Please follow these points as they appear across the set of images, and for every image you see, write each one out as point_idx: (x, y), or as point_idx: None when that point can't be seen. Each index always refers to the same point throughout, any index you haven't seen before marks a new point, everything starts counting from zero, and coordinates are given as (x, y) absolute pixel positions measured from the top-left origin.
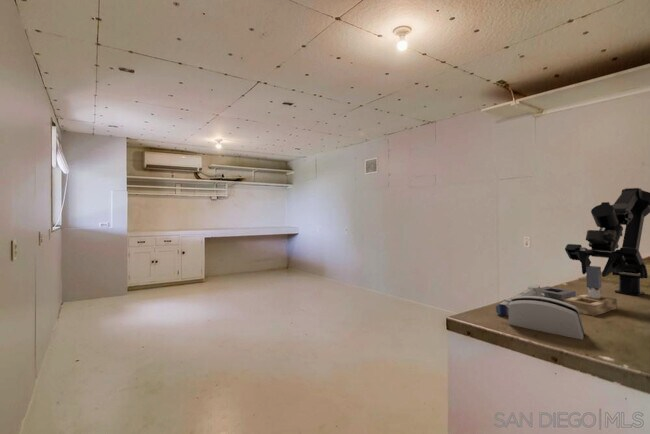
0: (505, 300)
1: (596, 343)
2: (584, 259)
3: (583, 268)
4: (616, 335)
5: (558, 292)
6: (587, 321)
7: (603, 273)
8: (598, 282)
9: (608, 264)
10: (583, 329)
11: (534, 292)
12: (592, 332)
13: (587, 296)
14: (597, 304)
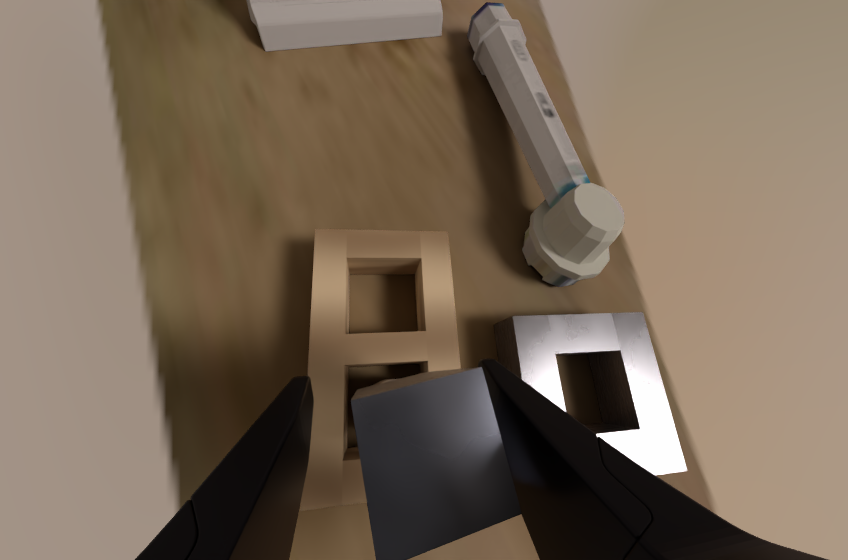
0: (511, 21)
1: (213, 6)
2: (629, 505)
3: (511, 386)
4: (192, 94)
5: (553, 357)
6: (309, 165)
7: (292, 384)
8: (356, 391)
9: (201, 526)
10: (248, 5)
11: (551, 179)
12: (253, 74)
13: None
14: (317, 266)
